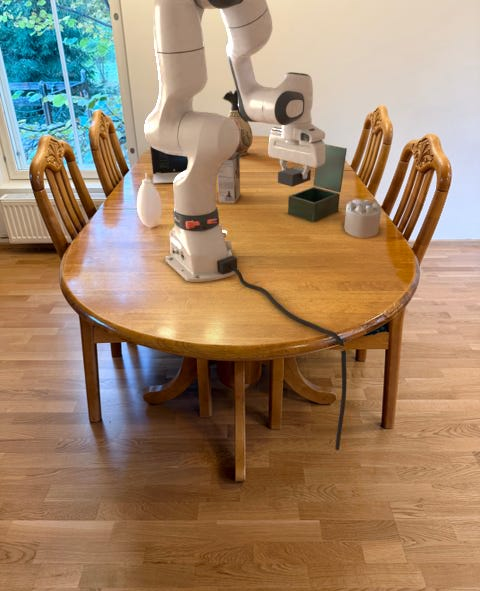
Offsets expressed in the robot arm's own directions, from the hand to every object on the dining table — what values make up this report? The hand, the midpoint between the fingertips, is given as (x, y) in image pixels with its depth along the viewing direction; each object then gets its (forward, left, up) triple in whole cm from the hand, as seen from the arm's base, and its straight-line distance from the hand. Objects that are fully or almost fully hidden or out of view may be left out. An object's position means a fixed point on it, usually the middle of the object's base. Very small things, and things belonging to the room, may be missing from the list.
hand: (294, 176), depth 154 cm
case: (+3, -9, -15) cm, 18 cm away
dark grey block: (0, 0, -2) cm, 2 cm away
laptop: (+59, +26, -15) cm, 66 cm away
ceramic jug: (+87, -12, -15) cm, 89 cm away
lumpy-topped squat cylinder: (-16, -16, -15) cm, 27 cm away
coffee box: (+27, +13, -15) cm, 34 cm away
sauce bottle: (+11, +45, -15) cm, 48 cm away
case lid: (+6, -16, -1) cm, 17 cm away
